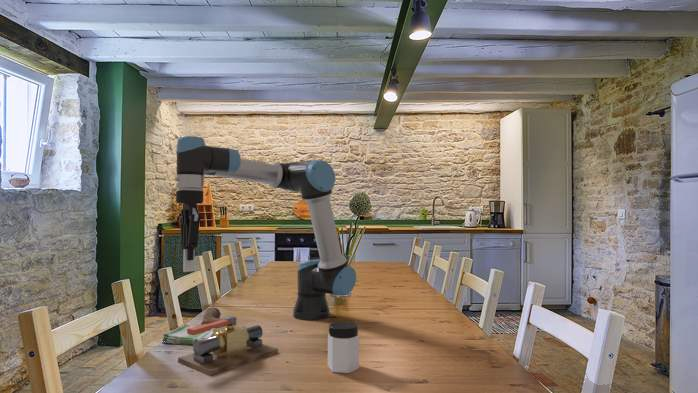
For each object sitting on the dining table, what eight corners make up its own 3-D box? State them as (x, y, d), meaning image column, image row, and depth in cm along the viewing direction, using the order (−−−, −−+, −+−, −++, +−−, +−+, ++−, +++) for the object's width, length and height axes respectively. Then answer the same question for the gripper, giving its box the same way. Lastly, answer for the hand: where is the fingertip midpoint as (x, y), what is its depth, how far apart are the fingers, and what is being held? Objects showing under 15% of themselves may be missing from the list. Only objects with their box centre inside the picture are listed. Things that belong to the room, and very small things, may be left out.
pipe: (230, 319, 157) (245, 308, 166) (191, 315, 162) (208, 305, 171) (231, 336, 158) (246, 325, 167) (192, 331, 163) (209, 320, 172)
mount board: (244, 342, 146) (244, 338, 146) (277, 352, 136) (277, 348, 136) (178, 361, 127) (178, 357, 127) (210, 375, 117) (210, 370, 117)
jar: (342, 360, 129) (342, 319, 129) (364, 367, 124) (364, 324, 124) (321, 368, 122) (321, 325, 123) (343, 376, 117) (344, 331, 117)
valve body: (251, 341, 142) (251, 315, 142) (265, 346, 138) (266, 318, 138) (189, 360, 125) (190, 329, 125) (204, 365, 120) (204, 334, 121)
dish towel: (184, 330, 160) (184, 321, 160) (245, 333, 158) (245, 323, 158) (159, 345, 143) (159, 334, 143) (227, 348, 141) (227, 337, 141)
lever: (230, 320, 134) (230, 315, 134) (238, 322, 132) (238, 317, 132) (185, 334, 120) (186, 328, 120) (194, 336, 118) (195, 330, 118)
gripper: (170, 190, 130) (169, 269, 130) (183, 188, 120) (181, 275, 119) (195, 190, 135) (194, 267, 134) (210, 189, 124) (209, 272, 124)
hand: (188, 271), depth 127 cm, fingers closed
